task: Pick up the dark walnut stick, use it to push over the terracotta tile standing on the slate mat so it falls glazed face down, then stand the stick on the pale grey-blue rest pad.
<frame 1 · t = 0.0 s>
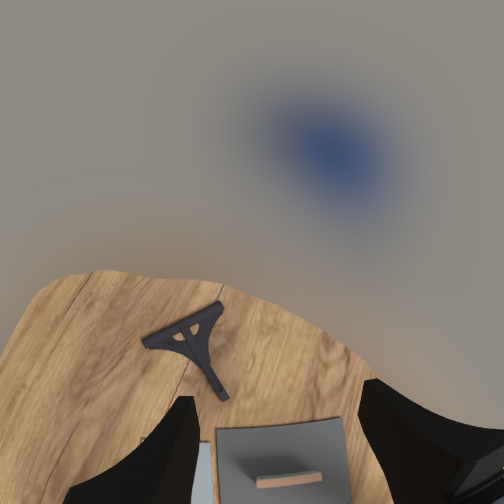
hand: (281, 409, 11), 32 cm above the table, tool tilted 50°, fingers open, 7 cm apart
tile: (285, 477, 33), resting on slate mat
rest pad: (176, 473, 33), on the table
slate mat: (284, 471, 34), on the table
bracket: (202, 361, 45), on the table
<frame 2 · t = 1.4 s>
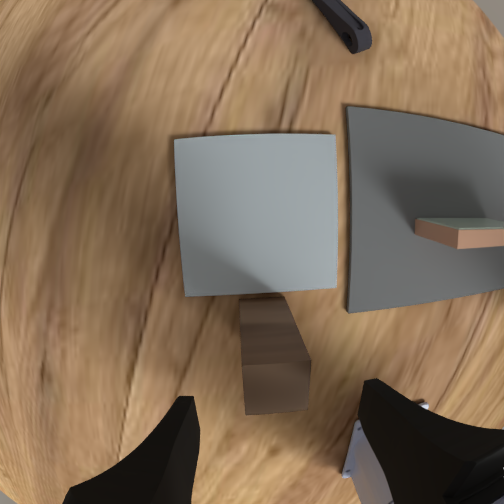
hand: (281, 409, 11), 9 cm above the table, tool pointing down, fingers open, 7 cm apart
tile: (454, 225, 20), resting on slate mat
rest pad: (258, 214, 19), on the table
walnut stick: (262, 318, 21), on the table
slate mat: (452, 211, 20), on the table
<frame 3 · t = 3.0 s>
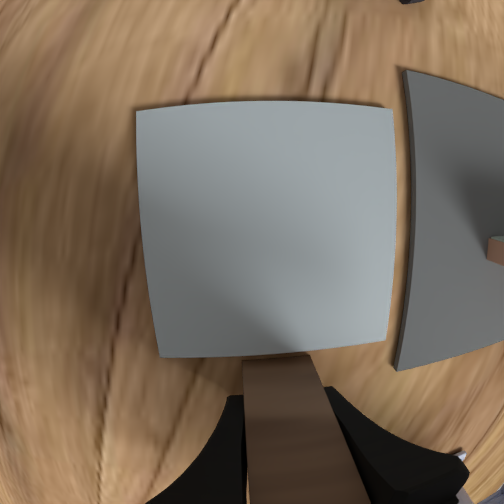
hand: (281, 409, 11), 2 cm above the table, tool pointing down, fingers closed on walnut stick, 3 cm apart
rest pad: (274, 233, 12), on the table
walnut stick: (276, 384, 13), on the table, touching gripper
when the fingers open (3 cm above the table, at t = 10.7 s): walnut stick stays where it is, resting on rest pad.
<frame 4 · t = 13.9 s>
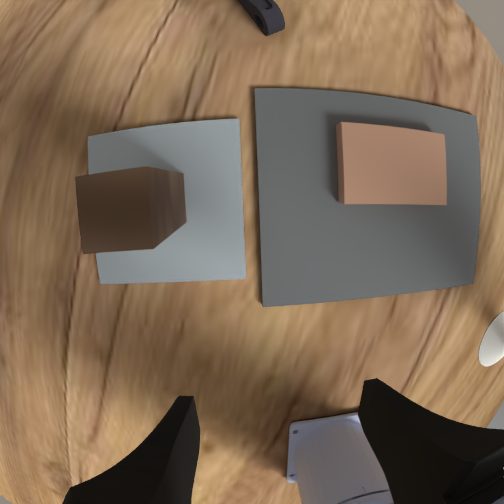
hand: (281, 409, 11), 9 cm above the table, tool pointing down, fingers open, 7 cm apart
tile: (396, 203, 18), point 1 cm above the table, tilted 90°, touching slate mat
champagne flute: (498, 337, 23), on the table
rest pad: (162, 203, 19), on the table
walnut stick: (161, 199, 18), resting on rest pad
slate mat: (389, 196, 19), on the table
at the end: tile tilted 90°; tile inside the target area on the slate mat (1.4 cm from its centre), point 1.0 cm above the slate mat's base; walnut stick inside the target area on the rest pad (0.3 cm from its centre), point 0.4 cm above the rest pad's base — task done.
